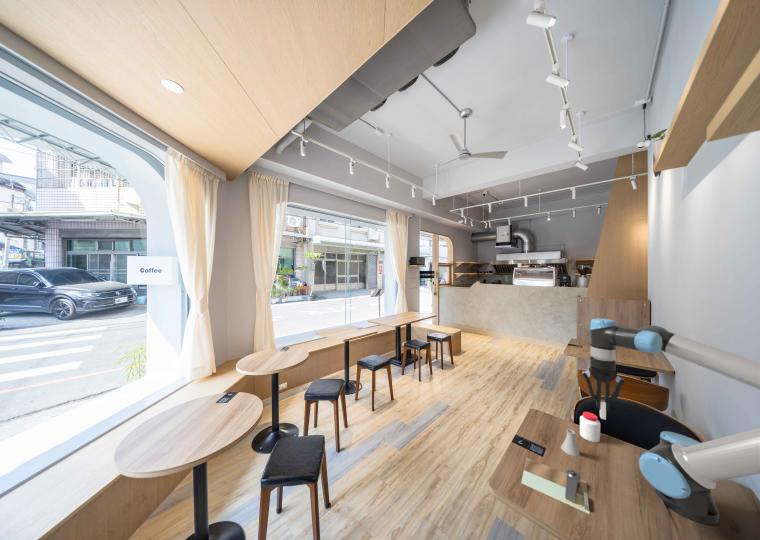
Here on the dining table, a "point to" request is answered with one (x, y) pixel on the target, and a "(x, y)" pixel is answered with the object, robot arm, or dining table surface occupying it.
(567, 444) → the flask
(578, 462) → the dining table surface
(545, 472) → the board
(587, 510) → the door panel
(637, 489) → the dining table surface
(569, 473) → the latch bar
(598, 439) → the pill bottle
